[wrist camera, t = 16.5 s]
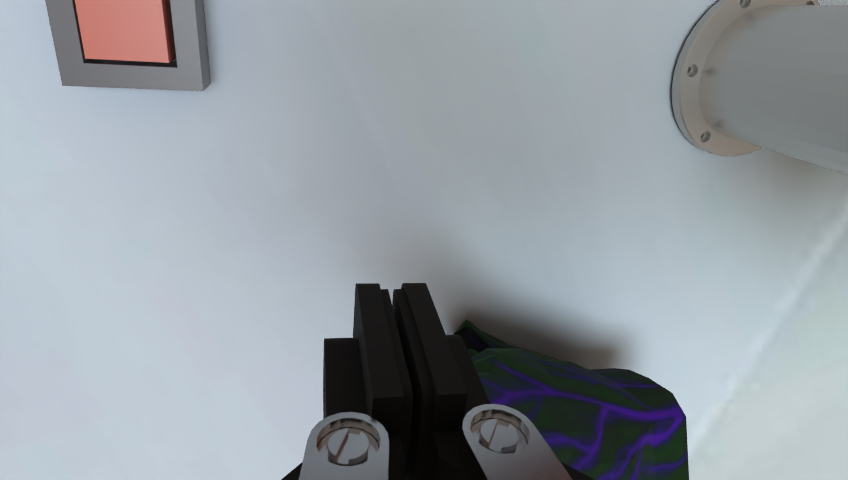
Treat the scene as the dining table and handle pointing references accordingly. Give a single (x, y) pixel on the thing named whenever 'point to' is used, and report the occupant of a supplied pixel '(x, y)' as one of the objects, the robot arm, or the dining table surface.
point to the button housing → (134, 74)
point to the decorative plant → (586, 411)
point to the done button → (127, 30)
